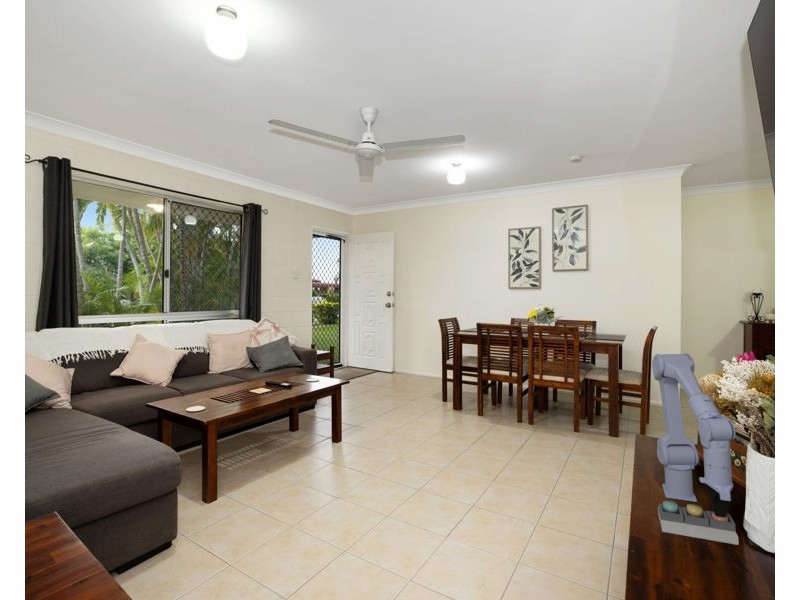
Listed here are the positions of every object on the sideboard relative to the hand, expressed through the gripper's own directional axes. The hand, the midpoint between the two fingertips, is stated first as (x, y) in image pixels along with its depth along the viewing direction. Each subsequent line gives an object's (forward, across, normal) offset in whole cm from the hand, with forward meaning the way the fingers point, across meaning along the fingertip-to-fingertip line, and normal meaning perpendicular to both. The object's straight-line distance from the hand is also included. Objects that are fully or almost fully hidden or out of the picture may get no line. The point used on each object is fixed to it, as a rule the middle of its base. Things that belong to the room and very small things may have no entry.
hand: (719, 515), depth 109 cm
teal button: (+1, 0, -11) cm, 11 cm away
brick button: (+2, 0, 0) cm, 2 cm away
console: (+4, 0, -6) cm, 7 cm away
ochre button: (+1, 0, -5) cm, 6 cm away
